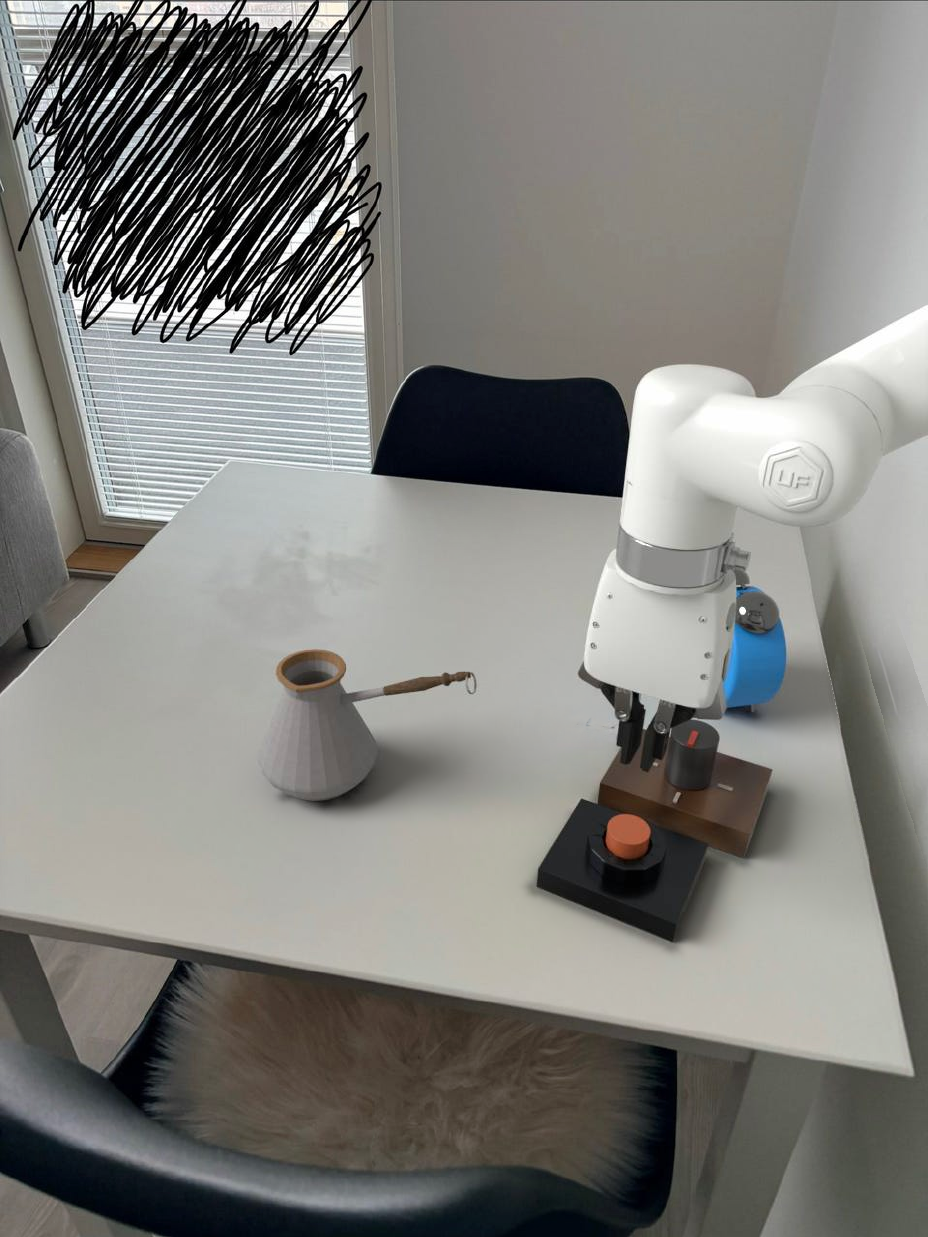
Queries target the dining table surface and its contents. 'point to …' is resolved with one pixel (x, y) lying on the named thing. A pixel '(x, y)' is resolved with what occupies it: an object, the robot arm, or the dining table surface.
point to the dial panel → (691, 799)
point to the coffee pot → (325, 726)
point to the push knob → (627, 836)
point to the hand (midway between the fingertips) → (639, 757)
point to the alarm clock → (755, 648)
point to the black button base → (623, 872)
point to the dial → (691, 755)
